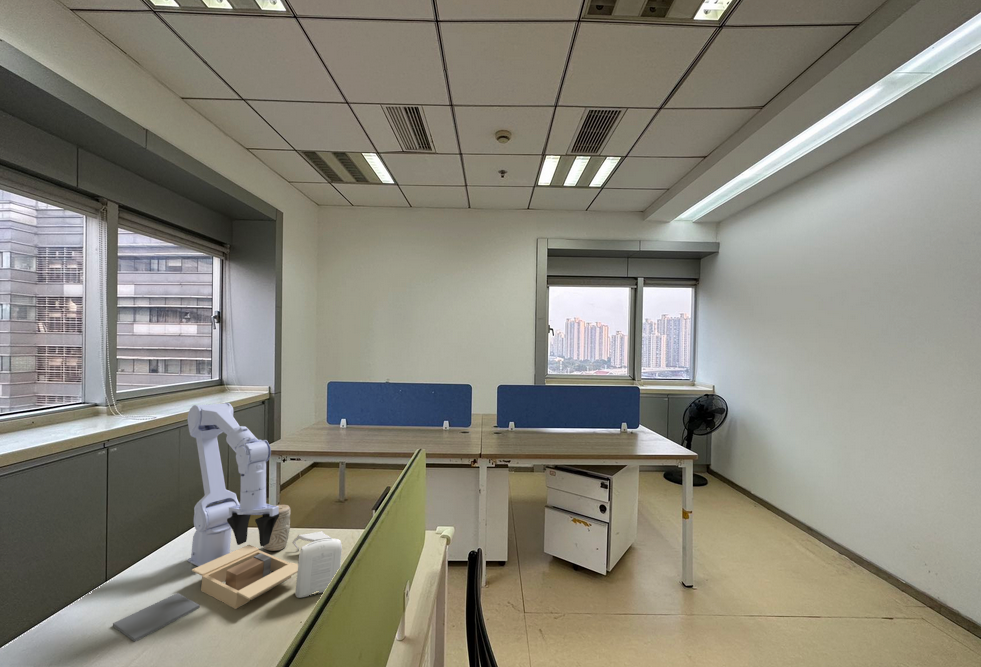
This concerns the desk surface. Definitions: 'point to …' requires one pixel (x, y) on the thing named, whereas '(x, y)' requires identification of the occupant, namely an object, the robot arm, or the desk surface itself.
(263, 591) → the carton
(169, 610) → the mat
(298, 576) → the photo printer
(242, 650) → the desk surface
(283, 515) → the carving
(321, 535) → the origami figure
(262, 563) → the walnut box
